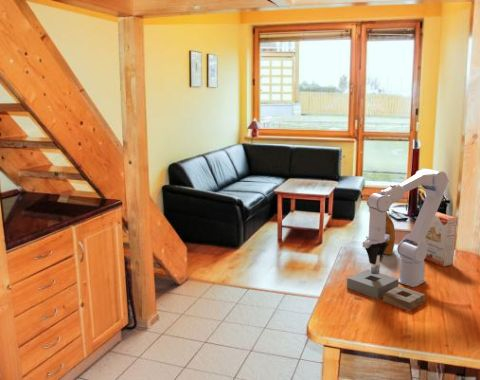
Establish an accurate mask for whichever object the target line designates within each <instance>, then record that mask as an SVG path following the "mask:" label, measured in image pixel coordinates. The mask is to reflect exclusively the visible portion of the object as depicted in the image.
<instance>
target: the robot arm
mask: <svg viewBox="0 0 480 380" xmlns="http://www.w3.org/2000/svg"><path fill="white" fill-rule="evenodd" d="M448 184H449V178H448V174H447V173H446V172H444V171H442V170H434V169H430V168H426V167H422V168H420V169H419V170H416V172H415V174H414V175H412V176H411V177H409V178H407V180H405V181H403V182H402V183H400V184H398V183H391V184H390V185H389V186H388V187H387V188H385V189H381V190H380V191H379V192H378V193H377V192H374V193H372V194H370V195H369V196H368V198H367V200H366V205H367V207H368V212H369V219H368V221H369V222H368V223H369V225H368V235H367V236H365V240H364V241H363V242H362V248H364V249H365V251H366V253H367V257H368V262H369V264H370V265H371V264H374V265H375V264H376V260H377V254H380V263H381V262H382V260H383V257H384V255H385V254H384V251H385V249H386V248H387V246H388V243H386V242H385V241H386V240H390V235H387V234H385V227H386V211H387V210H388V209H389V210H390V208H391V206H392V205H393V204H395V203H396V202H398V201H400V200H401V199H403V198H404V196H405V193H408V192H410V191H411V190H414V189H416V188H418V187H421V188H422V189H423V191H424V192H425V194H426V197H425V199H424V202H423V204H422V206H421V208H420V210H419V213H418V216H417V217H416V219H415V222H414V224H413V227H412V229H411V231H410V233H408V234H405V235H404V236H403V238H402V240H401V241H400V242H399V243H398V245H397V248H396V249H397V253H398V255H399V258H400V271H399V278H397V279H398V284H403V285H405V286H408V287H411V288H417V286H419V285H422V284H423V283H425V282H426V281H427V280H426V279H425V271H426V269H425V268H426V264H425V261H424V260H426V259H425V257H426V254H427V248H428V244H427V242H426V240H425V237H426V235H427V233H428V230H429V228H430V226H431V223H432V221H433V219H434V217H435V214H436V212H438V209H439V207H440V205H441V203H442V200H443V198H444V194H445V191H446V188H447V187H448ZM387 212H388V211H387Z"/></svg>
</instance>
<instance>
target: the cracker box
mask: <svg viewBox="0 0 480 380" xmlns="http://www.w3.org/2000/svg"><path fill="white" fill-rule="evenodd" d="M457 221H458V218H457V216H456V217H455V216H452V215H448V214H445V213H442V212H439V211H437V212H436V214H435V217H434V219H433V221H432V223H431V226H430V228H429V230H428V233H427V235H426V237H425V240H426V242H427V244H428V248H427V254H426V257H425V259H424V260H427V261H429V262H431V263H434V264H435V265H438V266H441V267H442V268H443V267H448V266H452V265H453V264H454V255H455V245H456V232H457Z"/></svg>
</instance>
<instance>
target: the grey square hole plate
mask: <svg viewBox="0 0 480 380" xmlns="http://www.w3.org/2000/svg"><path fill="white" fill-rule="evenodd" d="M398 279H399V278H396V277H394V276H390V275H388V274H384V273H381V272H379V274H372V273H371V269H365V270H363V271H360V272H358V273H355V274H353V275H351V276H348V277H347V279H346V289H347V290H348V289H349V290H351V291H355V292H358V293H360V294H363V295H364V296H368V297H371V298H373V299H376V300H379V299H380V298H382V297H383V293H385V292H388V291H390V290H392V289H394V288H396V287H398V286H399V283H398Z"/></svg>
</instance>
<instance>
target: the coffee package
mask: <svg viewBox="0 0 480 380" xmlns="http://www.w3.org/2000/svg"><path fill="white" fill-rule="evenodd" d="M388 212H390V208H389V209H388V210H387V211H386V227H385V234H387V235H390V240H386V241H385V242H386V243H388V246H387V248H386V249H385V251H384V254H383V255H388V256H389V255H393V253H394V249H395V241H396V240H395V239H396V234H395V224H394V222H393V220H392V218H391V217H390V215H389V213H388Z"/></svg>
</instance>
